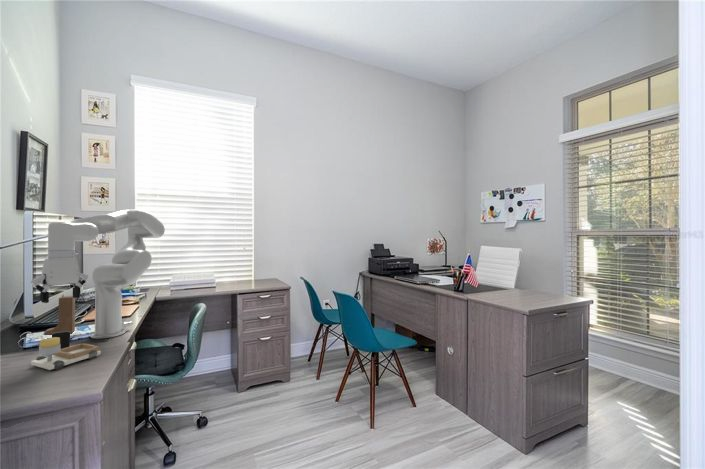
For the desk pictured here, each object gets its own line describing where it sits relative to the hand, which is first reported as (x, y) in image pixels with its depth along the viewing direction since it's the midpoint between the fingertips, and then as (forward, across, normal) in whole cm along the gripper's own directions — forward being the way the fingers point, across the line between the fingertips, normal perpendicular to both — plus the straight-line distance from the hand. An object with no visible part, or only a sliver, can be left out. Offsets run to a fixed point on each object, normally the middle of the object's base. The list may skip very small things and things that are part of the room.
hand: (61, 300), depth 121 cm
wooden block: (+20, -9, -19) cm, 29 cm away
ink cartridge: (+20, 0, 0) cm, 20 cm away
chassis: (+20, +4, +12) cm, 24 cm away
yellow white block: (+15, +9, +12) cm, 21 cm away
